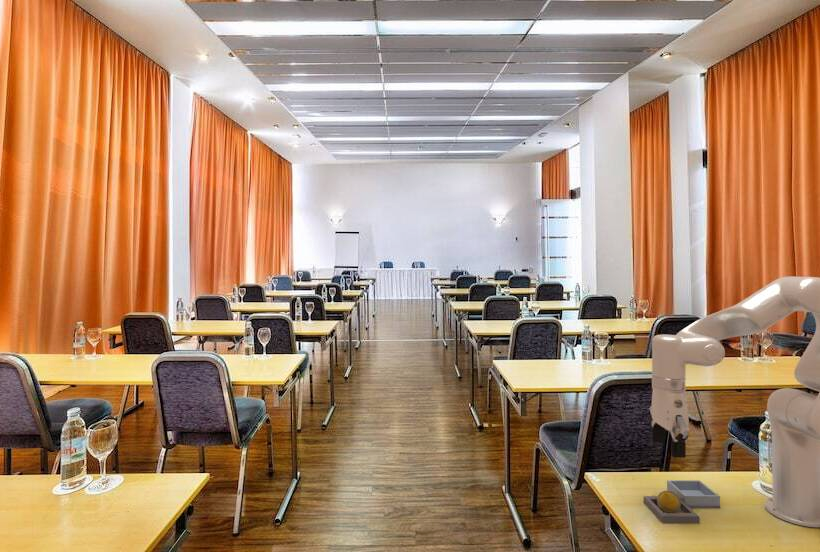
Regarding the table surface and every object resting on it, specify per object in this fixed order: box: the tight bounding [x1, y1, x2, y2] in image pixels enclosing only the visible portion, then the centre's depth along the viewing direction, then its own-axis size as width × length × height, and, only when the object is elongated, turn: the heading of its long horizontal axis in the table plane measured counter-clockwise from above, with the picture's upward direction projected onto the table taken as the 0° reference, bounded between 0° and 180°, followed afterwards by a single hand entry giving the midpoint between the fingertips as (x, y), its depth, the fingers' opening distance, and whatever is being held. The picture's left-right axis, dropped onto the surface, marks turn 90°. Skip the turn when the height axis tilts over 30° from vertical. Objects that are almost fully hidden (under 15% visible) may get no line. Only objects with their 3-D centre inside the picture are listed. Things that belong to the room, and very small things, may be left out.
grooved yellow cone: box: [656, 490, 681, 513], centre depth 118 cm, size 5×5×10 cm
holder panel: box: [643, 495, 701, 525], centre depth 118 cm, size 9×10×2 cm
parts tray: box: [666, 479, 721, 509], centre depth 124 cm, size 9×9×3 cm
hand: (668, 449), depth 117 cm, fingers open, 9 cm apart
